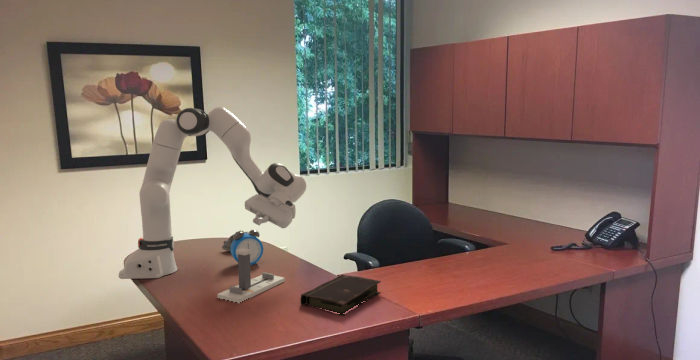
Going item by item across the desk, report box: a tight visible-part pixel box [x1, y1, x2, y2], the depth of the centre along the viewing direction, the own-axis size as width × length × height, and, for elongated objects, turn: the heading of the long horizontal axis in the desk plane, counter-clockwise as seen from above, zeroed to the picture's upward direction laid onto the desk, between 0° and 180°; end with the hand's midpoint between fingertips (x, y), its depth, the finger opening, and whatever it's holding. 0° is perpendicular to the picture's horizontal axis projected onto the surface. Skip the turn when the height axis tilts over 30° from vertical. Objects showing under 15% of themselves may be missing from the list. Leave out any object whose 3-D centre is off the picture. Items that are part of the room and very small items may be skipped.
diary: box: [299, 274, 382, 316], centre depth 175 cm, size 19×25×5 cm
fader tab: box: [236, 248, 252, 290], centre depth 180 cm, size 4×4×14 cm
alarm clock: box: [230, 229, 264, 266], centre depth 214 cm, size 13×6×15 cm, turn 116°
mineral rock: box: [221, 230, 250, 252], centre depth 236 cm, size 13×11×10 cm
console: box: [217, 271, 286, 304], centre depth 184 cm, size 26×10×4 cm, turn 150°
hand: (255, 222), depth 189 cm, fingers closed
